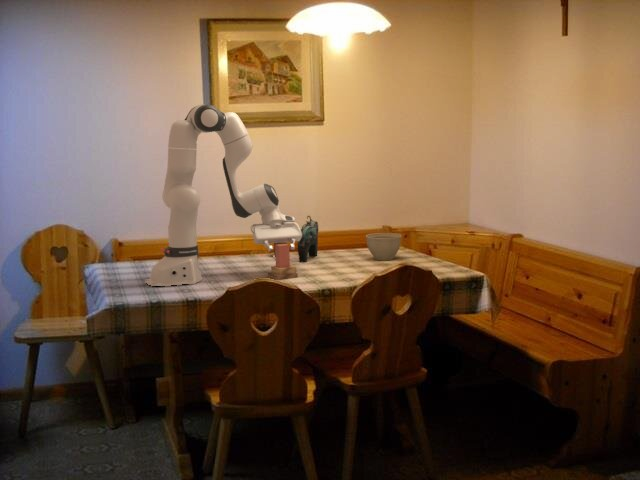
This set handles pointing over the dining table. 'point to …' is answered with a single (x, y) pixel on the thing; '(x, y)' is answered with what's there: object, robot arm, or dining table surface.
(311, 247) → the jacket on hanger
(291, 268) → the oak top slab
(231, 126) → the robot arm
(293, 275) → the walnut base slab
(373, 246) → the planter bowl
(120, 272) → the dining table surface
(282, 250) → the brick-red pillar
